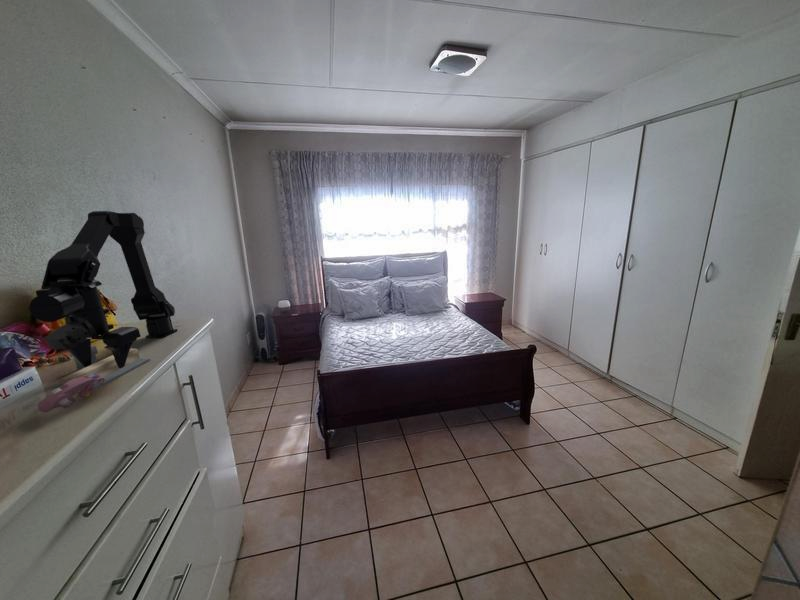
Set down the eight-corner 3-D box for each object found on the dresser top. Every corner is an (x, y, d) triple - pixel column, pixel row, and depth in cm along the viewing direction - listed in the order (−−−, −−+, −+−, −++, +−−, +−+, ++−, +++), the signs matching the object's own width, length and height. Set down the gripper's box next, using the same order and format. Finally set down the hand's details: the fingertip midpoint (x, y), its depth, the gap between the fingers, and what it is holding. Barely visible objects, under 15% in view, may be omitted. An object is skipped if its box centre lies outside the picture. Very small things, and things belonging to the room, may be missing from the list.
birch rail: (129, 358, 87) (126, 348, 86) (139, 358, 87) (136, 348, 86) (66, 389, 72) (62, 378, 71) (78, 390, 71) (74, 378, 70)
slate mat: (120, 359, 87) (120, 358, 87) (150, 360, 87) (149, 358, 86) (55, 391, 72) (54, 389, 72) (90, 392, 71) (90, 390, 71)
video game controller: (51, 423, 63) (56, 401, 60) (33, 410, 63) (37, 387, 61) (105, 395, 72) (111, 374, 70) (89, 383, 72) (94, 362, 70)
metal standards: (118, 350, 94) (112, 331, 92) (135, 350, 93) (130, 331, 92) (75, 370, 82) (68, 349, 80) (94, 370, 82) (87, 349, 80)
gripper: (8, 319, 68) (33, 383, 72) (86, 319, 66) (107, 385, 70) (65, 304, 78) (84, 361, 82) (134, 304, 77) (149, 362, 81)
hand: (105, 367), depth 79 cm, fingers open, 9 cm apart
